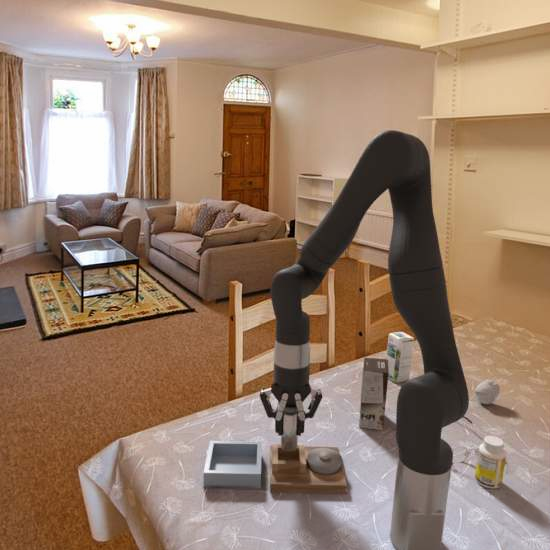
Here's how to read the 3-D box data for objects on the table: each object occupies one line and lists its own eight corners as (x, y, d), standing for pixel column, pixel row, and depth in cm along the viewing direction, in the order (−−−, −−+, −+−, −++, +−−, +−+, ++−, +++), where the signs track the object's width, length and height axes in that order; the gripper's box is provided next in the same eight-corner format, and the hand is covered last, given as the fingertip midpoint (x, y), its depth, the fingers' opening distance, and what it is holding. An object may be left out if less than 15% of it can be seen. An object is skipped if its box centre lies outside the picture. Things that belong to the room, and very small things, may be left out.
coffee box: (383, 431, 133) (389, 373, 129) (358, 427, 135) (362, 370, 130) (383, 413, 142) (388, 358, 138) (359, 410, 143) (364, 356, 139)
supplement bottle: (493, 473, 117) (499, 433, 115) (506, 489, 112) (513, 447, 109) (469, 474, 117) (475, 433, 114) (481, 490, 111) (488, 448, 109)
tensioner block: (346, 493, 109) (347, 474, 108) (270, 492, 109) (270, 473, 108) (337, 454, 123) (339, 437, 121) (270, 453, 122) (270, 435, 121)
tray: (260, 488, 110) (260, 474, 109) (203, 487, 110) (203, 472, 109) (261, 455, 121) (261, 441, 120) (209, 454, 121) (209, 440, 120)
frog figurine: (502, 406, 148) (506, 383, 146) (483, 410, 146) (486, 387, 144) (487, 396, 154) (490, 374, 152) (468, 400, 151) (471, 378, 149)
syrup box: (383, 376, 165) (387, 333, 161) (398, 373, 167) (403, 330, 164) (394, 383, 160) (399, 339, 156) (410, 380, 162) (414, 337, 159)
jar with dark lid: (300, 452, 111) (301, 409, 109) (278, 452, 111) (279, 409, 109) (298, 441, 116) (300, 399, 113) (278, 440, 116) (279, 398, 113)
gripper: (257, 366, 105) (256, 443, 109) (327, 367, 105) (324, 443, 109) (258, 352, 112) (257, 424, 116) (323, 353, 113) (320, 425, 117)
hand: (289, 433), depth 113 cm, fingers closed on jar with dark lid, 3 cm apart
